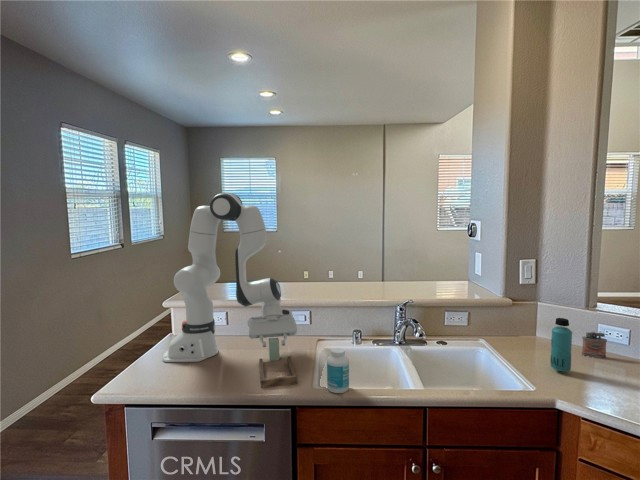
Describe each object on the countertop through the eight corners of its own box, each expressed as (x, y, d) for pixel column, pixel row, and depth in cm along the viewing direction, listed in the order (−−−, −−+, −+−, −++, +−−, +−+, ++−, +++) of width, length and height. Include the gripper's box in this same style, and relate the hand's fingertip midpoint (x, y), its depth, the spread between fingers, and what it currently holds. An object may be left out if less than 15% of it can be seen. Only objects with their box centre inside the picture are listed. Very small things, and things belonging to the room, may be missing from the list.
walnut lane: (261, 387, 123) (260, 380, 123) (259, 364, 142) (259, 358, 142) (296, 383, 126) (296, 376, 125) (290, 361, 144) (290, 355, 144)
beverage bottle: (567, 369, 134) (569, 316, 132) (573, 377, 127) (576, 322, 126) (547, 367, 136) (549, 315, 134) (552, 374, 130) (554, 320, 128)
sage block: (269, 360, 146) (269, 341, 145) (269, 357, 150) (268, 338, 149) (279, 359, 147) (279, 340, 146) (278, 356, 150) (278, 337, 150)
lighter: (583, 356, 145) (584, 332, 145) (580, 353, 148) (581, 329, 148) (607, 359, 142) (608, 334, 142) (604, 356, 145) (605, 332, 145)
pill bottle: (347, 395, 117) (347, 355, 116) (325, 393, 119) (324, 353, 118) (350, 384, 124) (350, 346, 123) (329, 382, 126) (328, 345, 125)
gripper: (247, 314, 151) (248, 344, 143) (295, 310, 155) (298, 340, 147) (247, 321, 156) (248, 351, 147) (294, 317, 160) (297, 347, 151)
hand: (274, 345), depth 147 cm, fingers open, 6 cm apart
